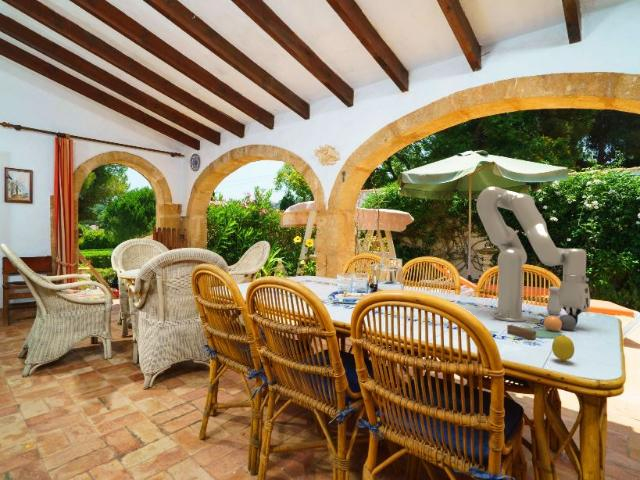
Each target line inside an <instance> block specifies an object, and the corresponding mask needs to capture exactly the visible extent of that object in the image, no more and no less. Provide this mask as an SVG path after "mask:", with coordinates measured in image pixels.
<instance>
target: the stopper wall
mask: <svg viewBox="0 0 640 480" xmlns="http://www.w3.org/2000/svg"><path fill="white" fill-rule="evenodd" d="M506 326H507V330H506V331H507V332H506V333H507V334H510V335H513V336H516V337H520V338H523V339H525V340H529V341H535V340H537V337H536V331H533V330H529V329H525V328H526V327H521V326H518V325H514V324H507V325H506Z"/></svg>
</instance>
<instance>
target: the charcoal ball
mask: <svg viewBox="0 0 640 480" xmlns="http://www.w3.org/2000/svg"><path fill="white" fill-rule="evenodd" d="M558 318H559V319H560V320H561V322H562V327H561V329H562V330H565V331H571V330H573V329H575V328H576V326H577V324H576V320H575V319H574V317H572V316H570V315H568V314H562V315H560V316H559V317H558Z"/></svg>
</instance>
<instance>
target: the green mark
mask: <svg viewBox="0 0 640 480" xmlns="http://www.w3.org/2000/svg"><path fill="white" fill-rule="evenodd" d="M524 328H525V329H529V330H533V331H536V338H543V339H555V338H556V337H558V336H561V335H563V334H561V332H558V331H550V330H548V329H547V328H540V327H524Z"/></svg>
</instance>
